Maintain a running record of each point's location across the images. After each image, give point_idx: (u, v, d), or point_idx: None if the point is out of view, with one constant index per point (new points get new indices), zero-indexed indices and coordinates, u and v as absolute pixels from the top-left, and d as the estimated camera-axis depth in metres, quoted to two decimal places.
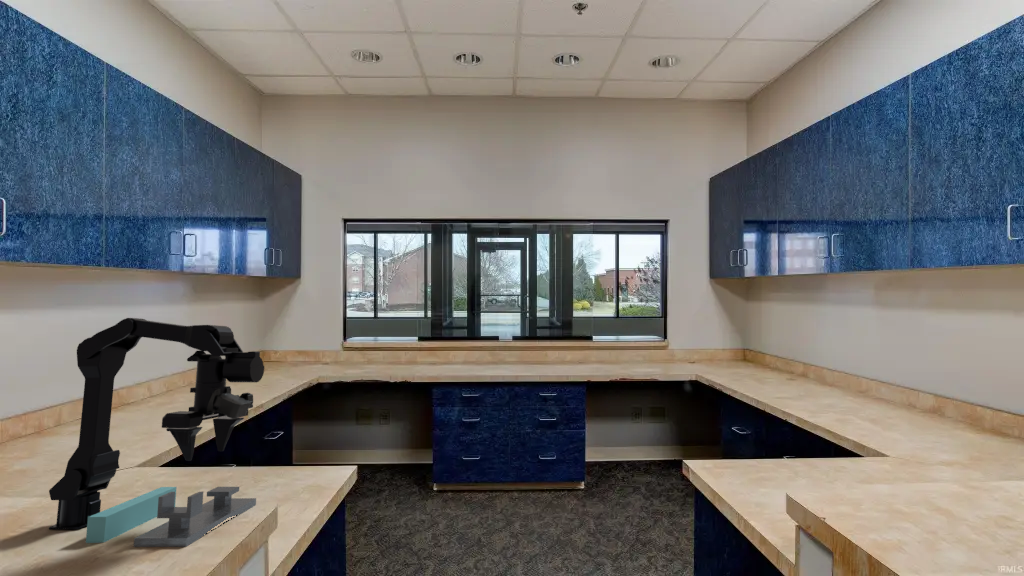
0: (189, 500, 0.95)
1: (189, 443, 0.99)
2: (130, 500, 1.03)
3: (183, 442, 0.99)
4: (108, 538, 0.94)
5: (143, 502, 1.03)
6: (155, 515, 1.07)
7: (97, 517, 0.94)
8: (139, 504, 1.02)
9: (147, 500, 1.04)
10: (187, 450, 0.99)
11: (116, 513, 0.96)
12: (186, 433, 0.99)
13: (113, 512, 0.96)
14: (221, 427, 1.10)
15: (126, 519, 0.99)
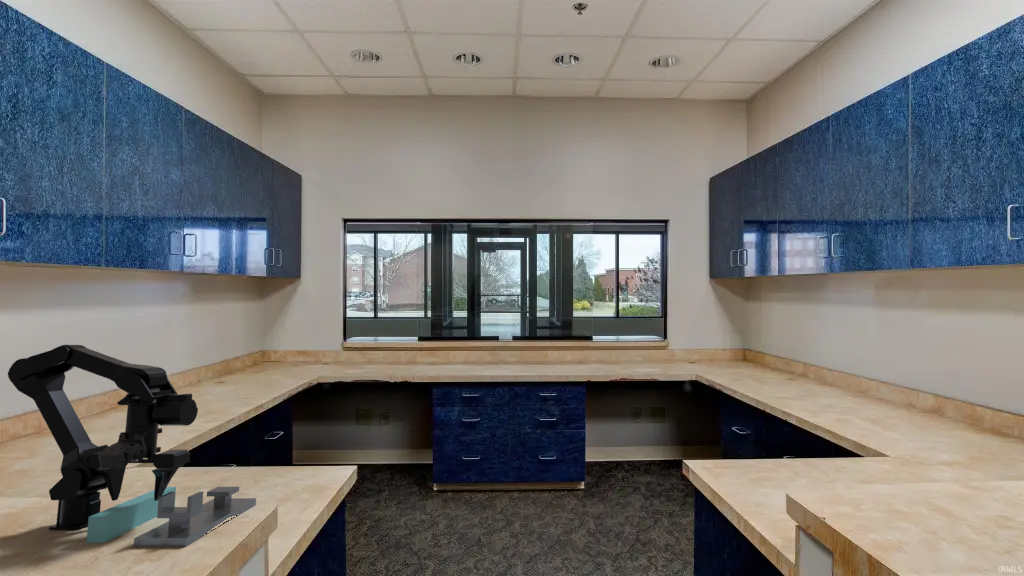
0: (189, 500, 0.95)
1: None
2: (130, 500, 1.03)
3: None
4: (109, 538, 0.94)
5: (144, 502, 1.03)
6: (155, 515, 1.07)
7: (98, 517, 0.94)
8: (139, 504, 1.02)
9: (147, 500, 1.04)
10: None
11: (117, 513, 0.96)
12: None
13: (114, 512, 0.96)
14: None
15: (127, 519, 0.99)
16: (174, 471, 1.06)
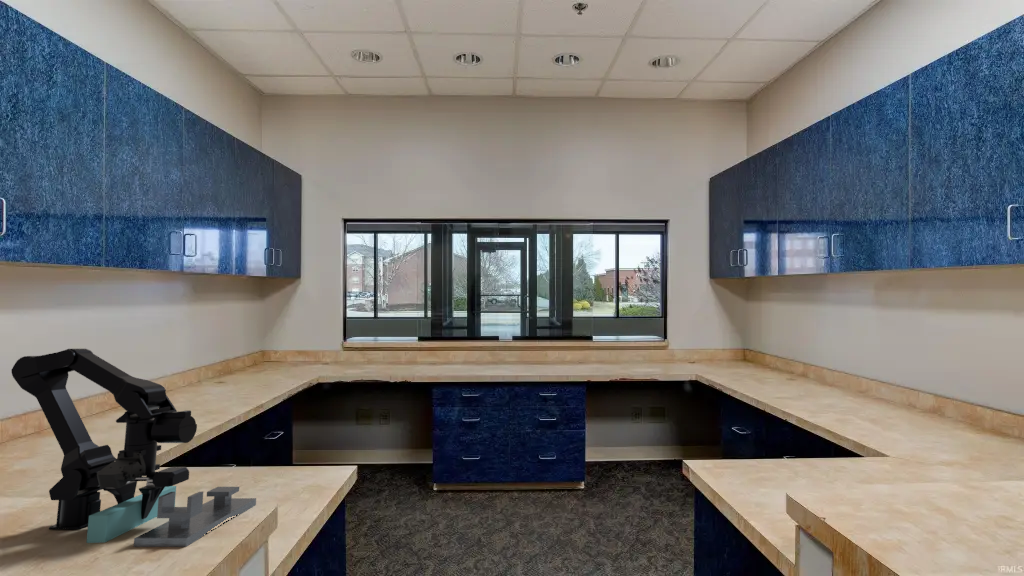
0: (189, 500, 0.95)
1: None
2: (130, 499, 1.04)
3: None
4: (109, 537, 0.94)
5: None
6: (155, 514, 1.07)
7: (98, 516, 0.94)
8: (139, 503, 1.02)
9: None
10: None
11: (117, 512, 0.96)
12: None
13: (114, 511, 0.96)
14: None
15: (127, 518, 0.99)
16: (161, 489, 1.06)
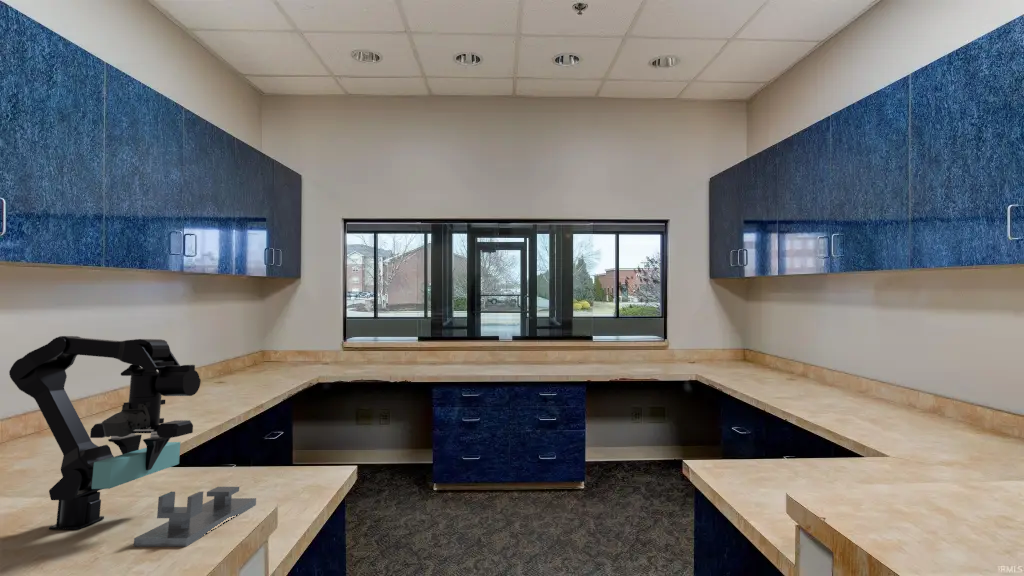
0: (189, 500, 0.95)
1: None
2: (135, 451, 1.05)
3: None
4: (114, 483, 0.95)
5: None
6: (159, 467, 1.08)
7: (103, 462, 0.95)
8: (144, 454, 1.03)
9: None
10: None
11: (121, 460, 0.97)
12: None
13: (118, 459, 0.97)
14: None
15: (131, 468, 1.00)
16: (165, 442, 1.07)
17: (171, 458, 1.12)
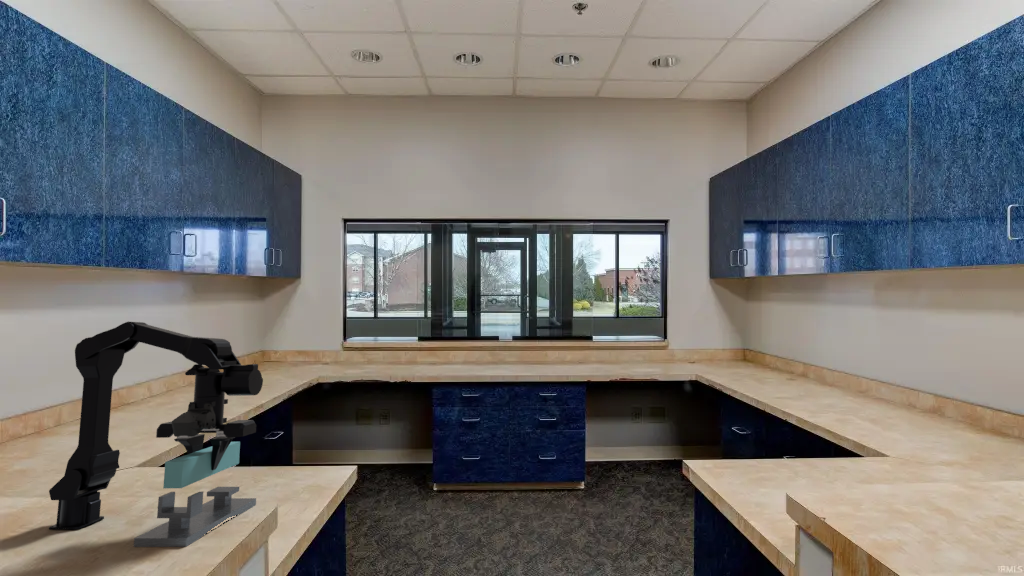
0: (189, 500, 0.95)
1: None
2: (200, 450, 1.04)
3: None
4: (185, 483, 0.95)
5: None
6: (223, 467, 1.08)
7: (174, 462, 0.95)
8: (210, 454, 1.03)
9: None
10: None
11: (191, 459, 0.97)
12: None
13: (188, 458, 0.97)
14: None
15: (199, 467, 1.00)
16: (229, 441, 1.07)
17: (233, 457, 1.11)
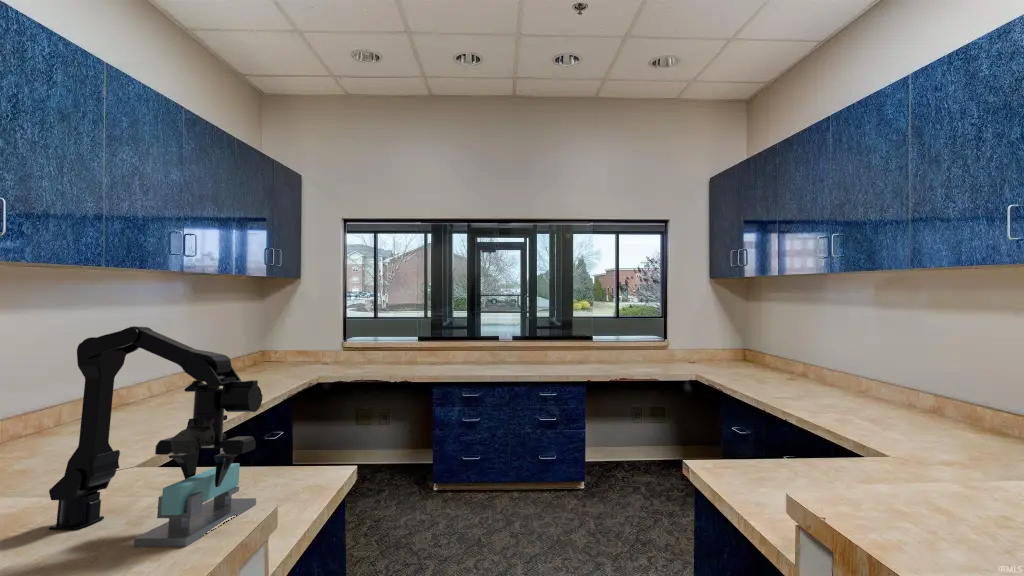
0: (189, 500, 0.95)
1: None
2: (199, 474, 1.04)
3: None
4: (182, 509, 0.94)
5: (212, 476, 1.04)
6: (222, 490, 1.07)
7: (172, 488, 0.94)
8: (208, 478, 1.02)
9: None
10: None
11: (189, 485, 0.96)
12: None
13: (186, 484, 0.96)
14: None
15: None
16: (233, 458, 1.06)
17: (232, 479, 1.11)
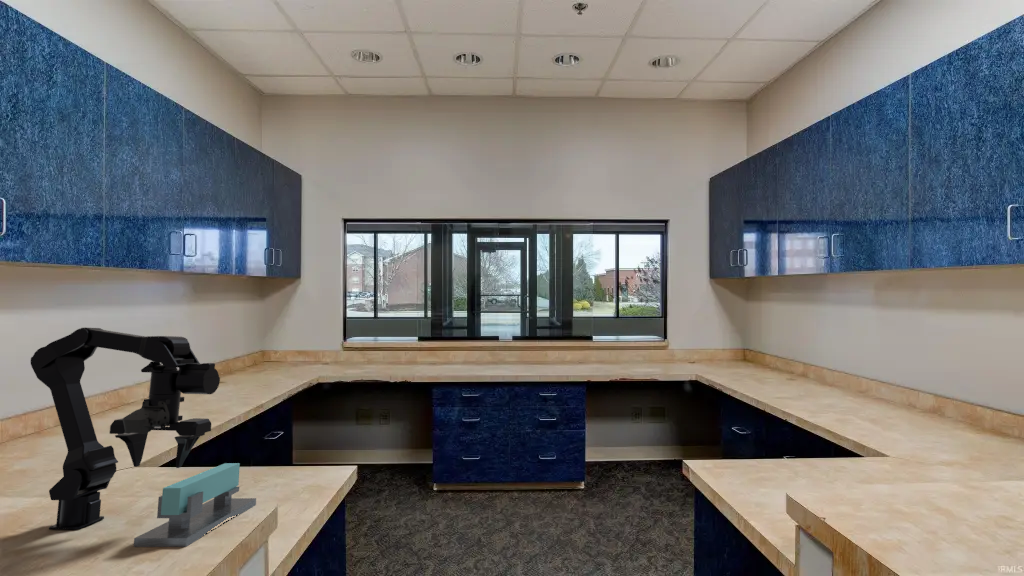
0: (189, 500, 0.95)
1: None
2: (199, 474, 1.04)
3: None
4: (182, 509, 0.94)
5: (212, 476, 1.04)
6: (222, 490, 1.07)
7: (172, 488, 0.94)
8: (208, 478, 1.02)
9: (215, 474, 1.05)
10: None
11: (189, 485, 0.96)
12: None
13: (186, 484, 0.96)
14: None
15: None
16: (195, 439, 1.07)
17: (232, 479, 1.11)
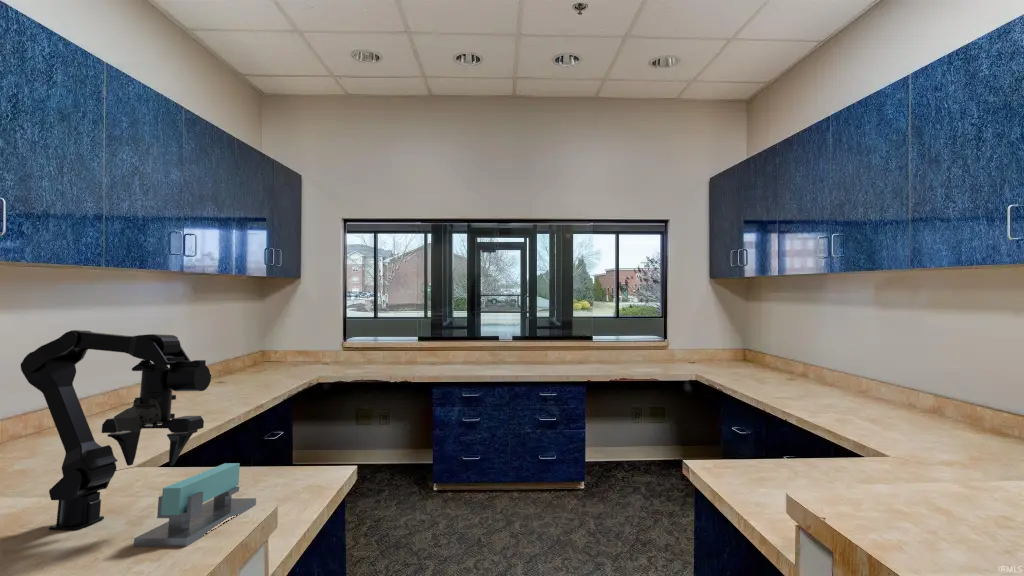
0: (189, 500, 0.95)
1: None
2: (199, 474, 1.04)
3: None
4: (182, 509, 0.94)
5: (212, 476, 1.04)
6: (222, 490, 1.07)
7: (172, 488, 0.94)
8: (208, 478, 1.02)
9: (215, 474, 1.05)
10: None
11: (189, 485, 0.96)
12: None
13: (186, 484, 0.96)
14: None
15: None
16: (188, 437, 1.07)
17: (232, 479, 1.11)
